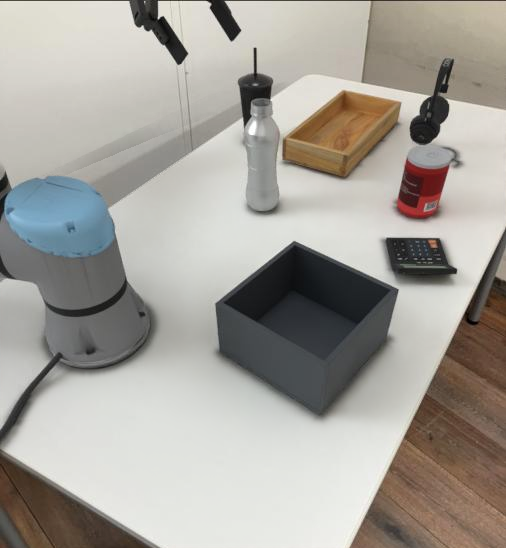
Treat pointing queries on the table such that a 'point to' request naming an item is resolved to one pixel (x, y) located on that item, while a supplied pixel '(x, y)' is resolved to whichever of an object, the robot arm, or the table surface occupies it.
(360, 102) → the tray
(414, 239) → the calculator
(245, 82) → the drinking cup
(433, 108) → the headphones
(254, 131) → the plastic bottle
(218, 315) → the bin
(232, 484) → the table surface
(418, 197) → the canned food
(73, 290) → the robot arm
